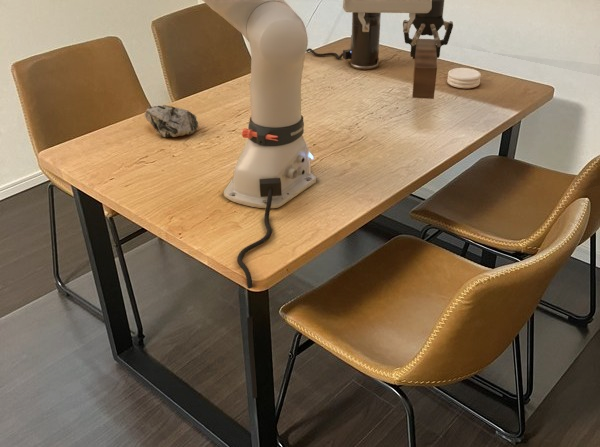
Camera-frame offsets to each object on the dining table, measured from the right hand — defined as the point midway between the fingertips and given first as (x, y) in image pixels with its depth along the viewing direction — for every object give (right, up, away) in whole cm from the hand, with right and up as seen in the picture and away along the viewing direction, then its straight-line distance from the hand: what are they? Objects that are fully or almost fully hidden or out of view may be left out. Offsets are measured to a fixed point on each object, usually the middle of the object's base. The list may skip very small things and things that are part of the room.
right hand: (424, 58), depth 176 cm
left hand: (-15, -2, -30) cm, 34 cm away
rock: (-70, -22, -9) cm, 73 cm away
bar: (-1, -8, -5) cm, 10 cm away
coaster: (+16, -3, +18) cm, 24 cm away
